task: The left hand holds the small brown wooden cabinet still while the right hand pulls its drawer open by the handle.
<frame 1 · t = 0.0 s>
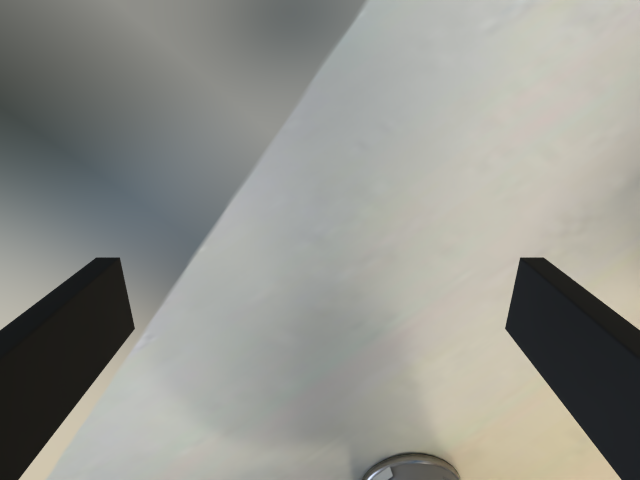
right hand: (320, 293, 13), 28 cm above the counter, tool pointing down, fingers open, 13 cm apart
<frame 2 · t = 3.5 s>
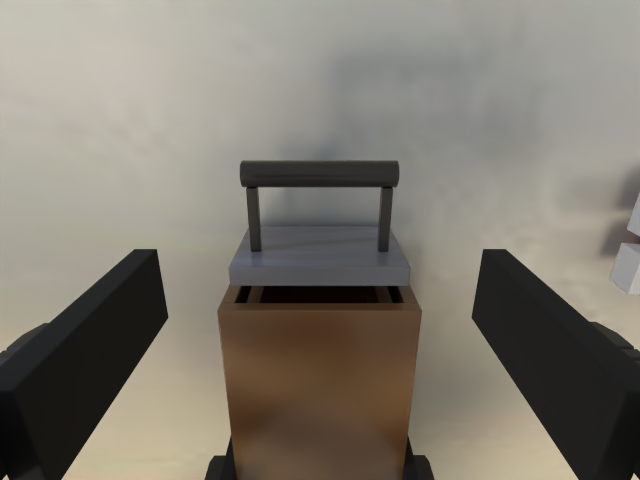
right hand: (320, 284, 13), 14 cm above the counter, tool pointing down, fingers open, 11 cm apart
drawer: (319, 319, 26), point 4 cm above the counter, slide at 1.0 cm
cabinet: (319, 346, 32), on the counter, touching left hand
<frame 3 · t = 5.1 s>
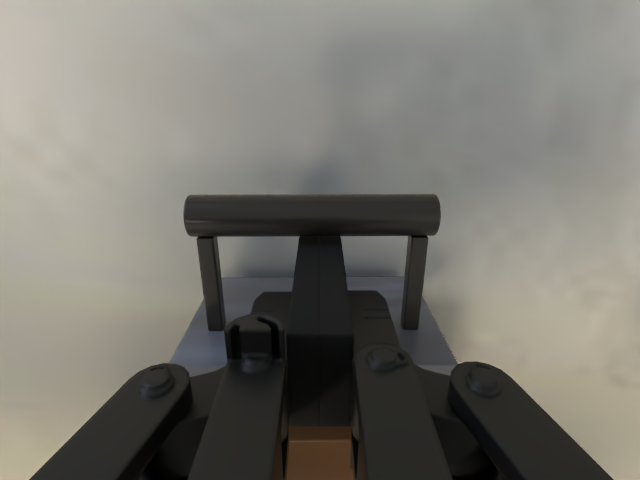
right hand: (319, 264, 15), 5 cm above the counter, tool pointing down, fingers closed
drawer: (314, 414, 18), point 4 cm above the counter, slide at 1.2 cm
cabinet: (314, 429, 24), on the counter, touching left hand
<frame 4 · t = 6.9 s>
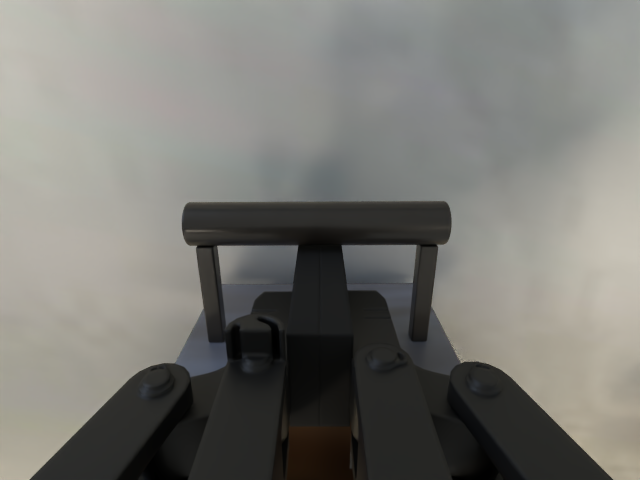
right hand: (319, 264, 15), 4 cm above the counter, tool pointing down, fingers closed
drawer: (318, 426, 18), point 4 cm above the counter, slide at 10.1 cm, touching right hand
when the left hand's fingers open (4 cm above the counter, at t = 8.6 s): cabinet stays where it is, on the counter.
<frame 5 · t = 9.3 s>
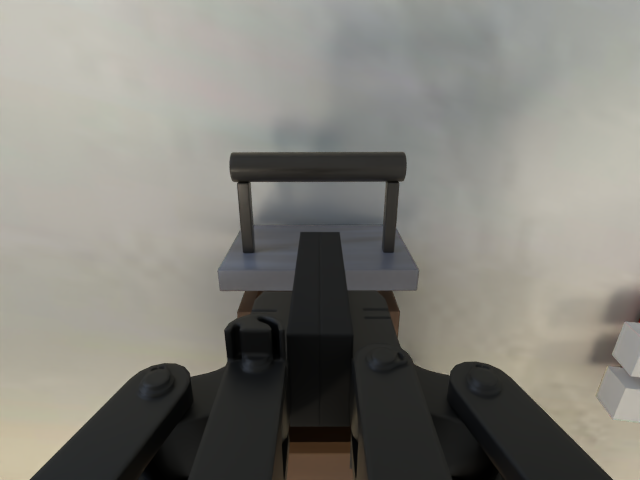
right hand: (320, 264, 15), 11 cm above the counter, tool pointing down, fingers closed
drawer: (318, 326, 24), point 4 cm above the counter, slide at 10.2 cm
cabinet: (319, 440, 33), on the counter
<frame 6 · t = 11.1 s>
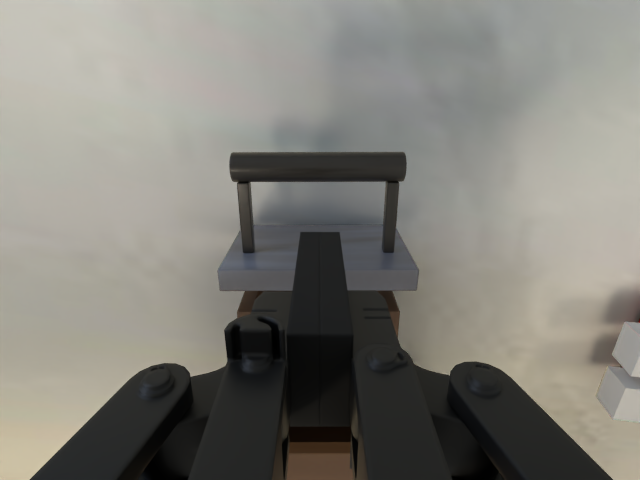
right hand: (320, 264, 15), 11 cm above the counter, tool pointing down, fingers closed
drawer: (318, 326, 24), point 4 cm above the counter, slide at 10.2 cm
cabinet: (319, 440, 33), on the counter
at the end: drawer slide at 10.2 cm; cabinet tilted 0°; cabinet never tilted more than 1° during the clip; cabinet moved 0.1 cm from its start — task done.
